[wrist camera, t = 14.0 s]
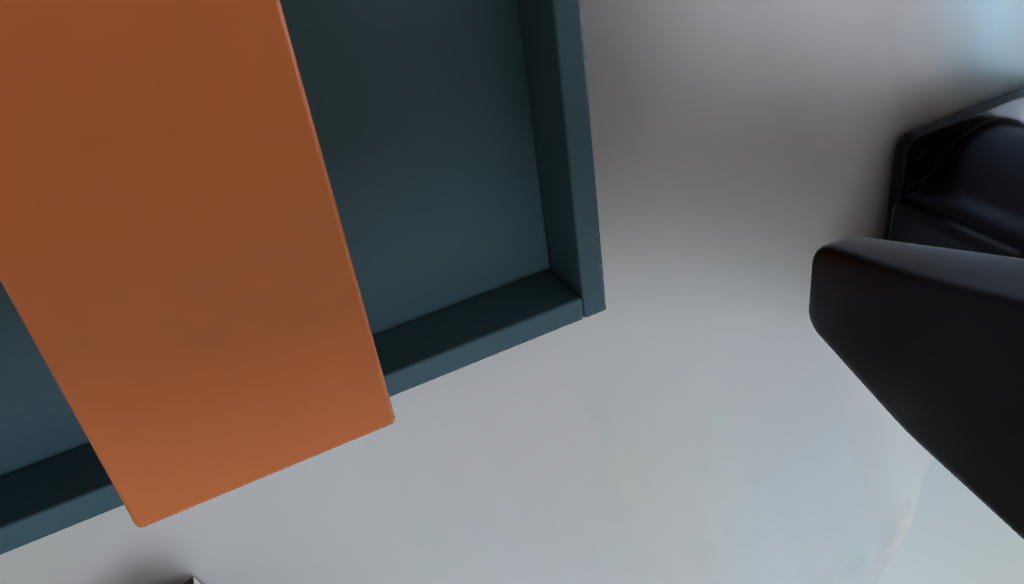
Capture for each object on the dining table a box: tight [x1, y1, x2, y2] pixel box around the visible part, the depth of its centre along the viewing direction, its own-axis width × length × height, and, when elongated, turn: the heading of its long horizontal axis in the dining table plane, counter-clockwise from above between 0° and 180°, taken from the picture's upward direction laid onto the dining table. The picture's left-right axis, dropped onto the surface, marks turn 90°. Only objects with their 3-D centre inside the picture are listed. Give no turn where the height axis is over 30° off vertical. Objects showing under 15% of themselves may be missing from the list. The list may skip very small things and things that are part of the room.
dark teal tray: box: [0, 0, 606, 555], centre depth 14 cm, size 15×14×2 cm
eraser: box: [0, 0, 395, 527], centre depth 12 cm, size 4×10×5 cm, turn 8°
